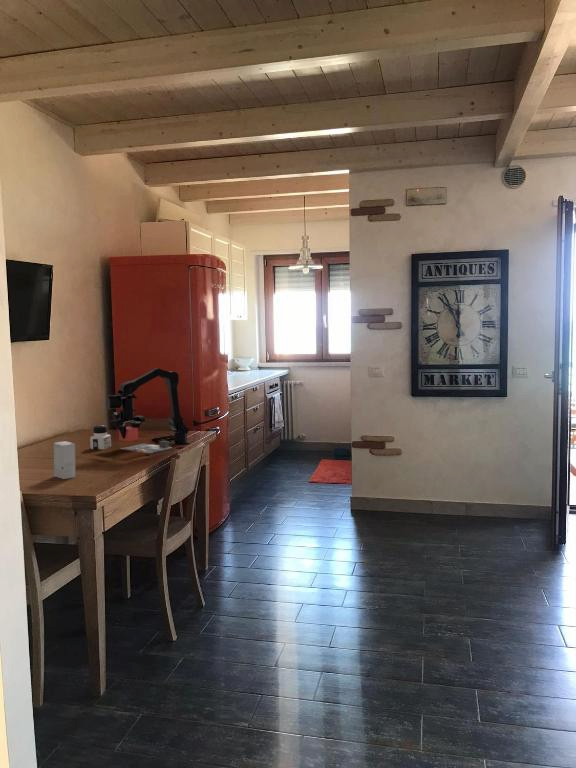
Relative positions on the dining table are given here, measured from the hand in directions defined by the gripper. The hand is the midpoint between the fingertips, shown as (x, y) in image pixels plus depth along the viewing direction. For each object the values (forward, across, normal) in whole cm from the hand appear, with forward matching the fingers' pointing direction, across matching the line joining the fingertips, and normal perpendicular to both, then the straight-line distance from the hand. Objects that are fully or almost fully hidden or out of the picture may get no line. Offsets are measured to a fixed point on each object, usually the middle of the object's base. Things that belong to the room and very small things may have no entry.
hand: (128, 437), depth 319 cm
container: (+7, +6, -14) cm, 17 cm away
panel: (+7, -5, +8) cm, 11 cm away
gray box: (+5, -10, +15) cm, 19 cm away
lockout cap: (+1, 0, 0) cm, 1 cm away
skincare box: (+7, +51, +19) cm, 55 cm away
